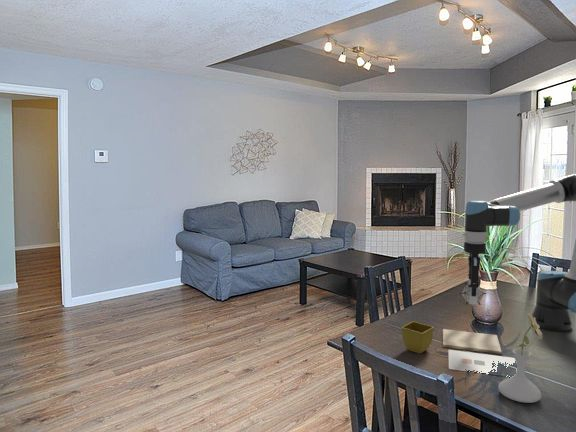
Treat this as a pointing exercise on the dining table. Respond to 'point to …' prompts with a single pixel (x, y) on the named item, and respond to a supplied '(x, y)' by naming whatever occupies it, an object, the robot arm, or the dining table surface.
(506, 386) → the flower in vase
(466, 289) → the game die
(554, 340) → the dining table surface
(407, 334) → the flower pot
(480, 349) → the wooden pad
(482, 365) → the card
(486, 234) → the robot arm
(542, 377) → the dining table surface
